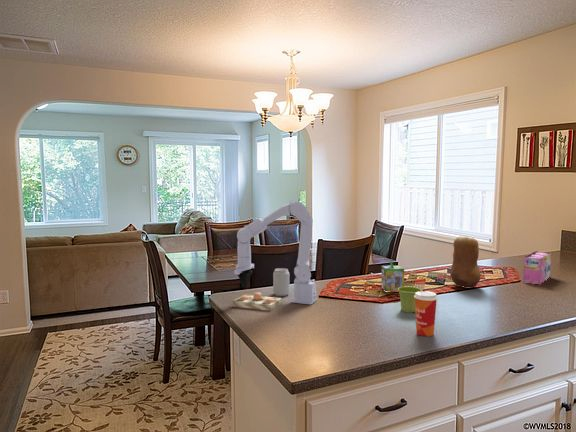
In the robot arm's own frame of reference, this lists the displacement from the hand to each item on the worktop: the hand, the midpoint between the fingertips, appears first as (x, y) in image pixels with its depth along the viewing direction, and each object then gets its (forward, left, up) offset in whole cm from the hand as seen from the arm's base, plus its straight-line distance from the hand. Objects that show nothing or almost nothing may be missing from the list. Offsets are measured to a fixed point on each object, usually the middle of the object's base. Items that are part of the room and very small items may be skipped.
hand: (245, 287), depth 182 cm
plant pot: (-67, -15, -7) cm, 69 cm away
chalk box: (-56, -44, -7) cm, 71 cm away
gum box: (-123, -92, -7) cm, 153 cm away
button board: (-6, 0, -7) cm, 9 cm away
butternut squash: (-88, -63, -7) cm, 108 cm away
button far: (0, 0, -7) cm, 7 cm away
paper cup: (-75, +10, -7) cm, 76 cm away
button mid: (-6, 0, -5) cm, 8 cm away
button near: (-12, 0, -7) cm, 14 cm away
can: (-9, -19, -7) cm, 22 cm away
